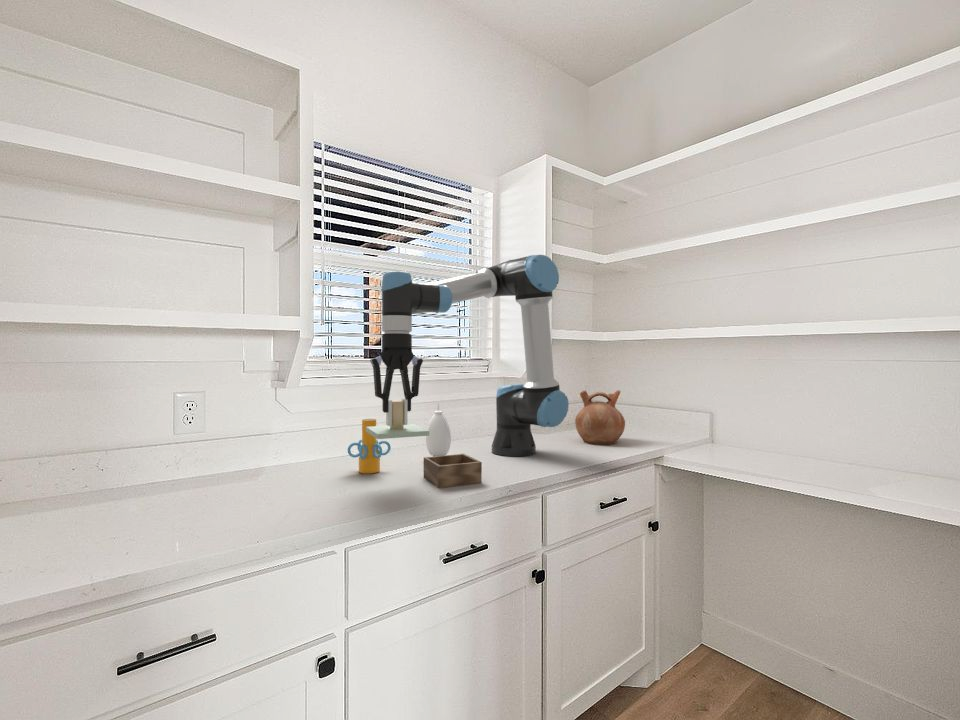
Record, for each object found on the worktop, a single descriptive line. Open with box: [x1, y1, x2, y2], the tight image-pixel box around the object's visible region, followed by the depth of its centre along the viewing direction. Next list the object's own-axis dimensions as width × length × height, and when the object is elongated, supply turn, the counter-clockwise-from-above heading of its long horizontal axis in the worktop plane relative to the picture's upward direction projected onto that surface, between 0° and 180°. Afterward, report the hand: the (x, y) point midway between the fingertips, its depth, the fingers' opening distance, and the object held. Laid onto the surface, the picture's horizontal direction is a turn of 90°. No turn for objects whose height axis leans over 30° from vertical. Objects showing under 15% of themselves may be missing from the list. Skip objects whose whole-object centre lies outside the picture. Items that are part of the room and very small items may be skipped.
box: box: [423, 453, 483, 489], centre depth 135 cm, size 12×12×6 cm
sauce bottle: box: [425, 402, 452, 457], centre depth 162 cm, size 8×8×18 cm
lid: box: [366, 400, 429, 440], centre depth 129 cm, size 13×13×8 cm
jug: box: [574, 389, 626, 446], centre depth 192 cm, size 18×18×20 cm
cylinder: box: [347, 418, 392, 475], centre depth 145 cm, size 12×10×15 cm
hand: (396, 424), depth 129 cm, fingers closed on lid, 3 cm apart
